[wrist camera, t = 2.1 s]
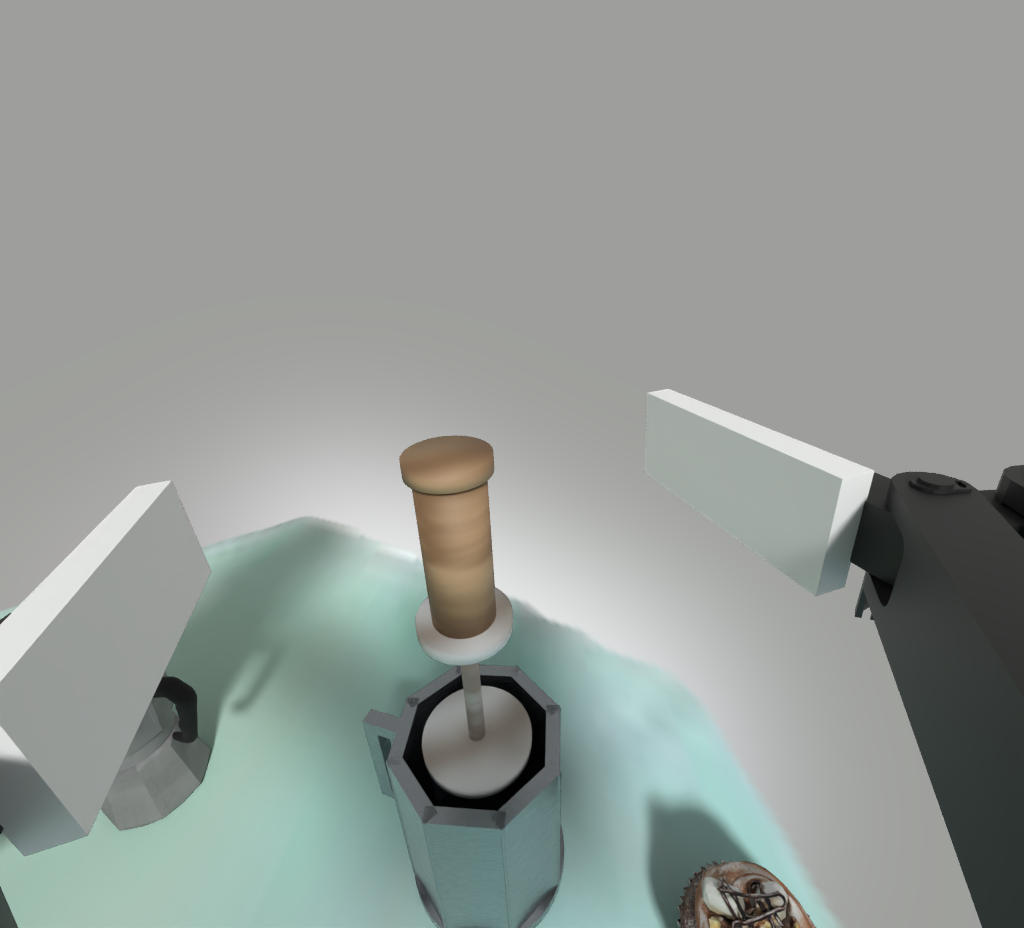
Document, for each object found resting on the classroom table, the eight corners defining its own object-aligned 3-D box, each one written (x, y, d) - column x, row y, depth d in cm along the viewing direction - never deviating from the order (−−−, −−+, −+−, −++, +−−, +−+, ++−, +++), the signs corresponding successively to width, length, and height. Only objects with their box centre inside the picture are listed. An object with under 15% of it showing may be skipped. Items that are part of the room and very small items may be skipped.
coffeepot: (58, 824, 45) (-50, 696, 36) (140, 730, 53) (67, 609, 45) (206, 845, 43) (126, 715, 35) (267, 743, 51) (214, 620, 43)
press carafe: (376, 816, 44) (342, 703, 37) (486, 729, 51) (475, 620, 44) (473, 1001, 33) (452, 891, 26) (595, 857, 41) (604, 740, 34)
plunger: (403, 735, 35) (341, 453, 25) (488, 675, 40) (465, 415, 29) (464, 826, 30) (417, 513, 19) (554, 744, 34) (556, 454, 24)
